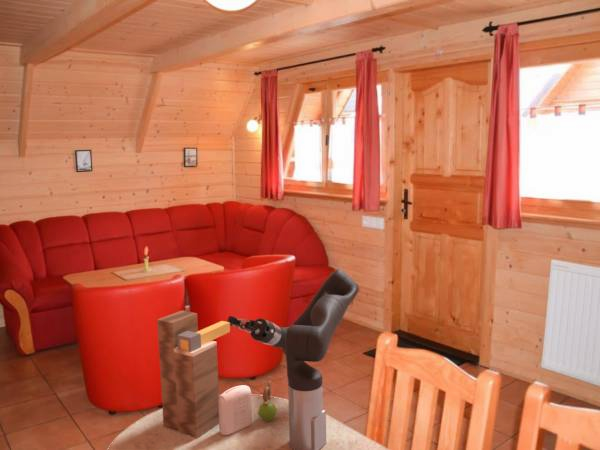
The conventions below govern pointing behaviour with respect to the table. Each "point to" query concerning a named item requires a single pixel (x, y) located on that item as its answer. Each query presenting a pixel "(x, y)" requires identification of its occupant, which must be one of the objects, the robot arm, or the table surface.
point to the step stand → (187, 378)
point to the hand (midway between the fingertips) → (239, 320)
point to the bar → (202, 336)
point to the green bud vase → (267, 404)
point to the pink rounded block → (235, 409)
